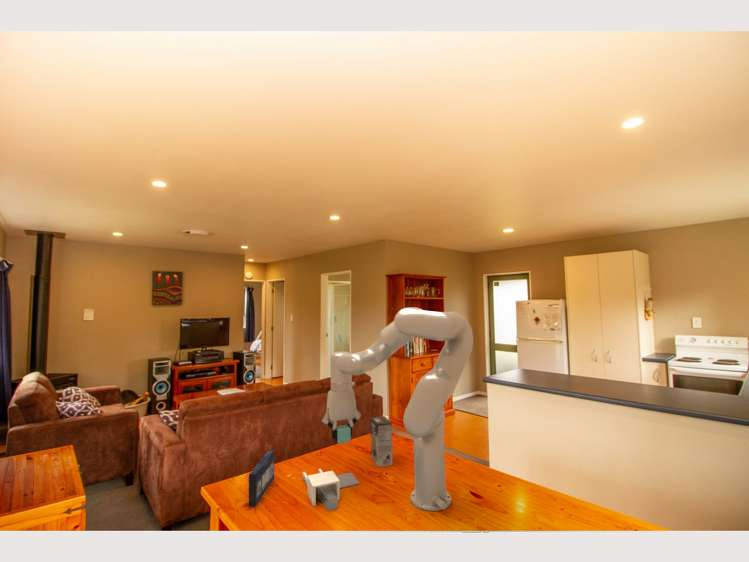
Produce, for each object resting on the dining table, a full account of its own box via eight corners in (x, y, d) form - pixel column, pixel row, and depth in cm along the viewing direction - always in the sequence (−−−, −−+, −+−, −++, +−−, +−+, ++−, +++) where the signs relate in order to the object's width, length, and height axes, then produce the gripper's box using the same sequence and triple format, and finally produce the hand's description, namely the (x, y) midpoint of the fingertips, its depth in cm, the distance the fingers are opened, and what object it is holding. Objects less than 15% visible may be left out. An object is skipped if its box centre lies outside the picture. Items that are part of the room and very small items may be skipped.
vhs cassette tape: (256, 507, 112) (256, 474, 112) (246, 507, 112) (246, 474, 112) (275, 479, 130) (275, 450, 131) (267, 479, 130) (267, 450, 131)
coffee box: (370, 458, 146) (369, 417, 147) (385, 455, 148) (384, 415, 149) (377, 467, 137) (376, 424, 138) (393, 464, 139) (392, 422, 140)
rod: (337, 509, 110) (337, 497, 110) (328, 512, 108) (328, 499, 109) (321, 489, 122) (321, 478, 122) (313, 491, 121) (313, 480, 121)
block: (350, 441, 126) (350, 428, 126) (338, 443, 124) (338, 430, 124) (346, 437, 130) (346, 424, 130) (334, 439, 128) (334, 426, 129)
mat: (359, 484, 124) (359, 483, 124) (334, 490, 121) (334, 488, 121) (350, 473, 132) (350, 472, 132) (327, 478, 129) (327, 477, 129)
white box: (339, 499, 115) (339, 480, 115) (313, 506, 111) (313, 486, 112) (323, 473, 133) (323, 457, 133) (300, 478, 130) (300, 461, 130)
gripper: (359, 382, 136) (360, 432, 134) (315, 387, 129) (316, 439, 128) (367, 386, 129) (368, 438, 128) (321, 391, 122) (321, 447, 121)
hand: (342, 438), depth 128 cm, fingers closed on block, 4 cm apart
